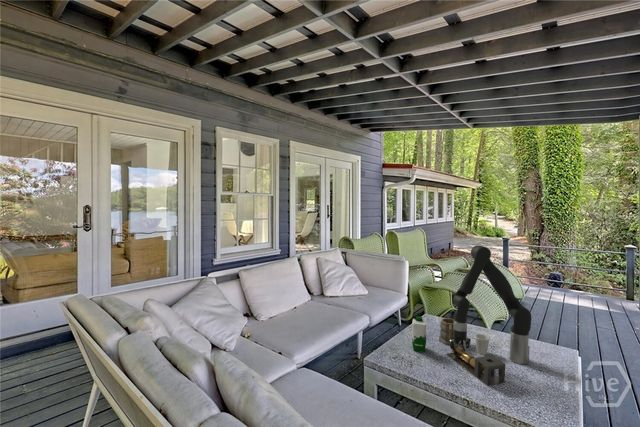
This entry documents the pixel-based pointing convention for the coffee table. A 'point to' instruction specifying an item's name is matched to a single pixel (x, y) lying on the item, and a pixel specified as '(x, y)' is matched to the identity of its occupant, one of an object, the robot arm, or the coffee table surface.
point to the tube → (467, 358)
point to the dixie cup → (482, 343)
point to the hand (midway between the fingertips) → (459, 355)
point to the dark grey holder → (489, 370)
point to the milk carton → (419, 334)
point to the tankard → (446, 330)
